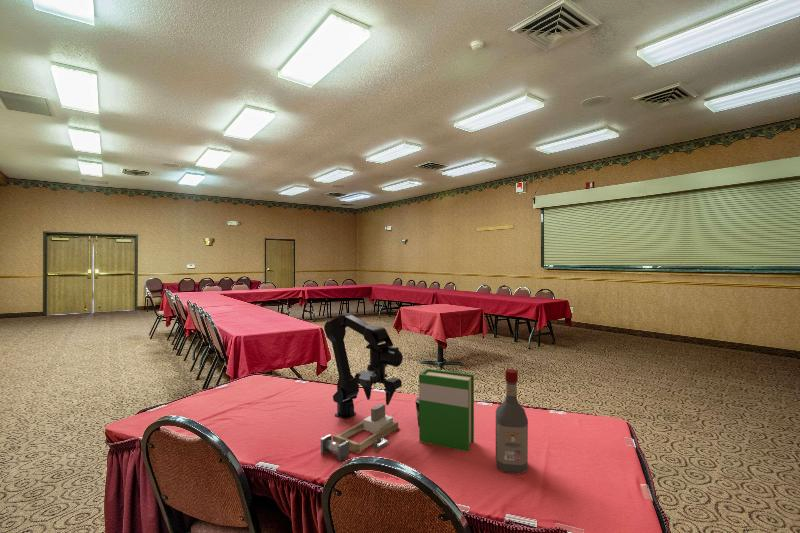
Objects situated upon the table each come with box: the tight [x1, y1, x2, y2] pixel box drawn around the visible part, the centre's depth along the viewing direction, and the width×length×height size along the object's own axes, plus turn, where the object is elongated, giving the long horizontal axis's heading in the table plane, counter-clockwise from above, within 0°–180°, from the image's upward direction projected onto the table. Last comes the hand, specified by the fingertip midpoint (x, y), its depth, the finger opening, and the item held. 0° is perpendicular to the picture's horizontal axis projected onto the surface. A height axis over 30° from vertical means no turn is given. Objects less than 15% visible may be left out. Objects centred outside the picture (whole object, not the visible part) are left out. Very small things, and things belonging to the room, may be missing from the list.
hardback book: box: [418, 368, 475, 453], centre depth 137 cm, size 18×7×24 cm, turn 65°
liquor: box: [495, 368, 529, 474], centre depth 122 cm, size 9×9×30 cm
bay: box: [332, 420, 399, 454], centre depth 143 cm, size 11×23×3 cm, turn 144°
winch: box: [320, 433, 350, 462], centre depth 129 cm, size 9×4×5 cm, turn 54°
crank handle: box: [372, 437, 389, 451], centre depth 136 cm, size 6×4×3 cm
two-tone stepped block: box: [362, 403, 394, 434], centre depth 148 cm, size 8×8×8 cm
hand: (377, 402), depth 148 cm, fingers open, 9 cm apart
